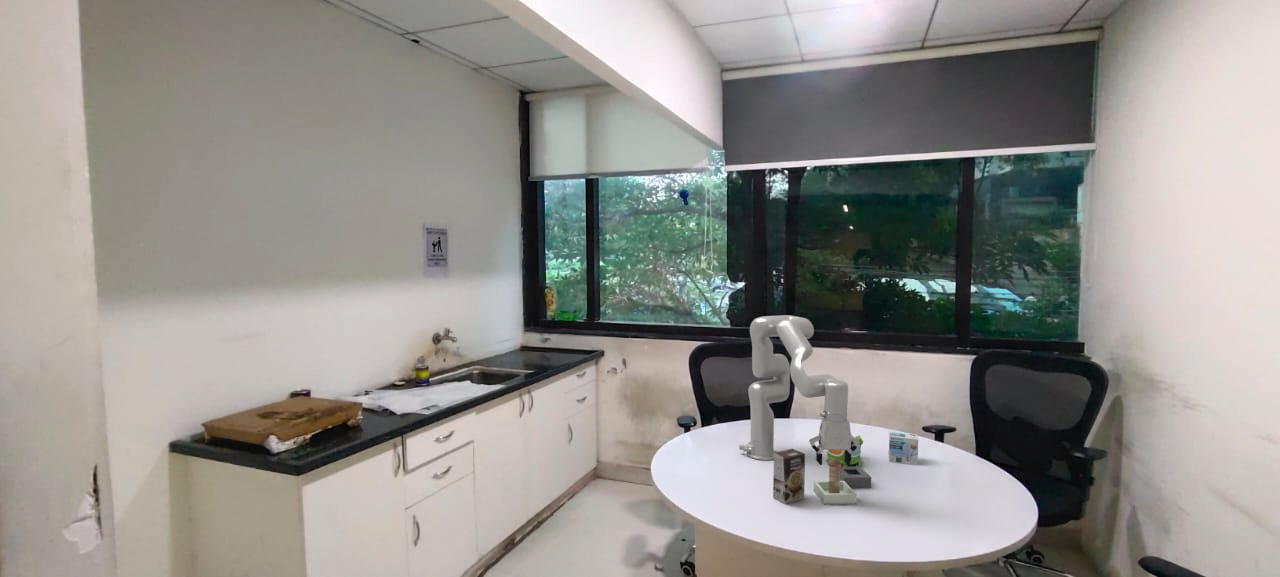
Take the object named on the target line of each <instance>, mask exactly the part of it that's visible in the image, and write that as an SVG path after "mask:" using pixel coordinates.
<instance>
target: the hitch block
mask: <svg viewBox="0 0 1280 577" xmlns="http://www.w3.org/2000/svg"><path fill="white" fill-rule="evenodd" d="M840 481H845V482H846V483H847V484H848V486H849V487H850V488H851V489H872V476H871V475H869V474H868V472H867V471H865V470H864V468H862V467H861V465H860V466H857V465H855V466H854V465H853V466H847V467H842V466H841V467H840Z"/></svg>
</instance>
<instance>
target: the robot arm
mask: <svg viewBox="0 0 1280 577" xmlns="http://www.w3.org/2000/svg"><path fill="white" fill-rule="evenodd" d="M814 328H815V327H814V326H813V324H812V322H811V320H809V319H808V318H806V317H800V316H796V315H790V314H789V315H788V314H787V315H786V314H784V315H782V314H781V315H766V316H765V315H764V316H759V317H756V318H754V319H753V320H752V321H751V323H750V326H749V335H750V339H751V346H752V350H751V351H752V352H751V354H752V355H751V360H752V361H751V363H752V364H751V365H752V366H751V369H752V370H751V371H752V374H753V376H754V377H755V378H758V379H765V380H758V381H754V382H753V383H751V384H750V385H749V386H748V391H747V392H748V398H749V405H750V441H749V442H748V443H747V444H746V445H745V444H739V446H738V447H739V448H738V450H740V451H741V450H742V451H743V452H746V455H747V456H748V458H751V459H753V460H757V461H758V460H759V461H771V460H774V453H775V452H777V450H775V449H774V446H775V444H774V440H775V438H774V437H775V436H774V435H775V433H774V432H775V419H774V418H775V415H774V411H773V410H772V408H771V407H770V406H771V405H770V404H773V403H781V402H784V401H787V399H788V398H789V395H790V387H791V384H790V383H791V380H792V382H793V384H794V386H795V388H796V389H797V391H798V393H799V394H800V395H802V396H803V397H804V398H808V399H811V398H812V399H813V398H819V397H820V398H821V397H824V403H823V404H824V406H823V412H820V413H819V417H820V418H821V422H820V424H819V430H818V435H816V436H814V437H812V438H810V439H809V440H808V442H809V444H810V446H811V448H812V449H813V450H814V451H815V461H816V462H817V463H818V464H819V466H822V465H823V453H822V452H824V450H825V451H827V450H846V451H845V458H844V462H845V463H846V464H847V465H848V466H850V465H851V464H850V462H851V454H852V453H853V451H854V450H856V449H857V446H858V444H859V443H860V442H859V440H857V439H855V438H853V437H851V434H852V432H851V424H850V421H849V420H848V405H849V404H848V403H849V401H848V400H849V384H848V383H847V382H846V381H843V380H840V379H838V378H836V377H835V376H833V375H831V374H817V375H807V373H806V371H805V370H804V368H803V366H802V363H804V362H805V361H806V360H807V359H809V358H810V357H811V356H812V355H813V353H814V349H813V346H812V345H811V343H810V342H809V341H808V340H809V339H811V338H812V337H813V336H814V332H815V329H814ZM770 337H771V338H773V337H779V339H780V340H781V342H782V344H783V345H784V347H785V349H786V351H787V352H788V354H789V356H790V357H791V360H790V362H789V360H788V358H787V357H786V355H784V354H781V353H774V344H773V341H772V340H771V339H770ZM769 378H773V379H769ZM790 378H791V380H790ZM851 441H853V442H854V443H853V444H852V445H851ZM817 442H818V445H817V446H816V444H815V443H817Z"/></svg>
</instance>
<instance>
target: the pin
mask: <svg viewBox="0 0 1280 577" xmlns="http://www.w3.org/2000/svg"><path fill="white" fill-rule="evenodd" d="M827 465H828V481H829V493H840V467H842V464H841V462H840V461H838V460H829V461H828V462H827Z"/></svg>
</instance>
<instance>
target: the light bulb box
mask: <svg viewBox="0 0 1280 577" xmlns="http://www.w3.org/2000/svg"><path fill="white" fill-rule="evenodd" d="M888 441H889V442H888V462H889V463H897V464H902V465H903V464H905V465H911V466H918V462H919V460H918V459H919V456H918V455H919V436H918V434H915V433H906V432H898V431H897V432H895V431H889V439H888Z"/></svg>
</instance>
